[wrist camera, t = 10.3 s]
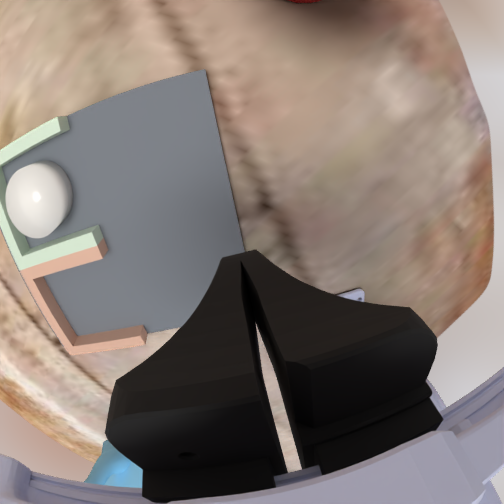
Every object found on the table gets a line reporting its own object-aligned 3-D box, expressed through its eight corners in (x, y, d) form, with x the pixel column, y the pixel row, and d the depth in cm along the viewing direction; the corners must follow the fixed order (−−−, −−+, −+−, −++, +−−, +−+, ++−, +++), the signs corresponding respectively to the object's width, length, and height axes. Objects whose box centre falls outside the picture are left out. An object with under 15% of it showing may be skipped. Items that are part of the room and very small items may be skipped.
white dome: (80, 220, 17) (69, 232, 16) (29, 231, 17) (17, 243, 15) (65, 152, 15) (51, 157, 13) (13, 169, 15) (-1, 176, 13)
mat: (256, 305, 23) (258, 309, 23) (65, 342, 22) (63, 346, 22) (204, 70, 15) (205, 69, 15) (-15, 165, 14) (-19, 167, 14)
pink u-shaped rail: (147, 333, 22) (145, 344, 21) (74, 345, 22) (70, 355, 21) (103, 237, 18) (97, 245, 17) (27, 262, 18) (19, 270, 17)
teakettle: (232, 394, 29) (253, 519, 15) (234, 457, 37) (248, 537, 24) (74, 390, 26) (48, 498, 13) (120, 455, 34) (115, 531, 21)
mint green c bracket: (103, 237, 18) (97, 245, 17) (27, 262, 18) (19, 270, 17) (66, 116, 14) (57, 116, 13) (-9, 160, 14) (-20, 163, 13)
